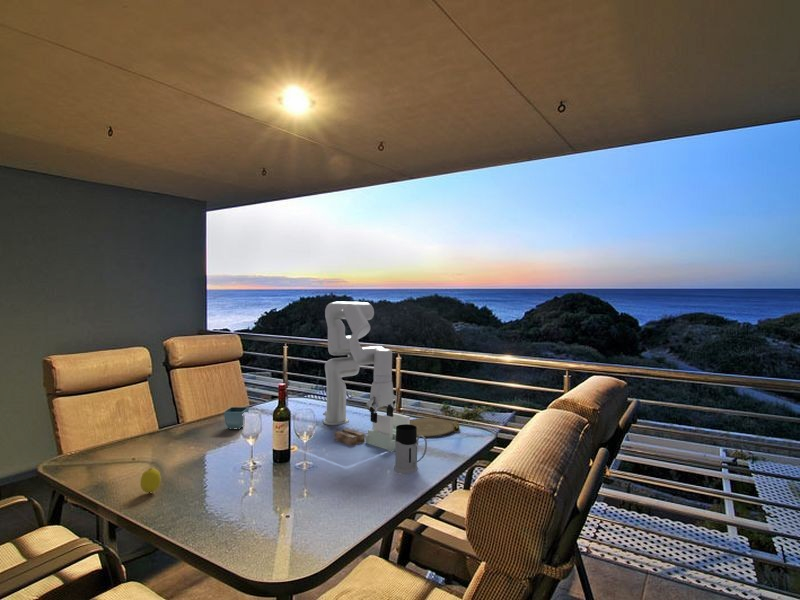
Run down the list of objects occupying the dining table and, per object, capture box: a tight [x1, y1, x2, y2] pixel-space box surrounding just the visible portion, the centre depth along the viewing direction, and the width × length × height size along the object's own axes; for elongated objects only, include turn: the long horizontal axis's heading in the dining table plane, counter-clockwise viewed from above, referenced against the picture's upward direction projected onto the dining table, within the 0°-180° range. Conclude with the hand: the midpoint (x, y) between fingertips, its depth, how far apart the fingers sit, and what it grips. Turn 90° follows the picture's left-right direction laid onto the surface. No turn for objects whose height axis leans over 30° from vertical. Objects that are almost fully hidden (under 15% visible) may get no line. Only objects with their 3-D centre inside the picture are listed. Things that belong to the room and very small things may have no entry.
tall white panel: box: [371, 412, 393, 440], centre depth 180 cm, size 10×2×12 cm, turn 50°
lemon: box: [140, 467, 162, 493], centre depth 135 cm, size 6×6×8 cm
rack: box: [364, 412, 411, 453], centre depth 184 cm, size 14×17×11 cm
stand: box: [333, 428, 366, 447], centre depth 184 cm, size 12×8×4 cm, turn 49°
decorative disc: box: [410, 417, 460, 438], centre depth 205 cm, size 29×3×30 cm
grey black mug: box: [393, 424, 428, 475], centre depth 154 cm, size 9×14×15 cm, turn 44°
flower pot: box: [223, 406, 250, 430], centre depth 203 cm, size 9×9×9 cm
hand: (381, 419), depth 180 cm, fingers open, 9 cm apart
